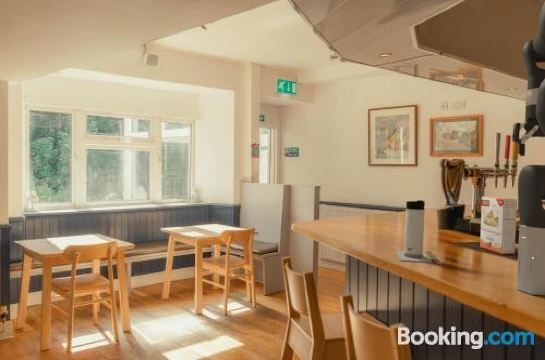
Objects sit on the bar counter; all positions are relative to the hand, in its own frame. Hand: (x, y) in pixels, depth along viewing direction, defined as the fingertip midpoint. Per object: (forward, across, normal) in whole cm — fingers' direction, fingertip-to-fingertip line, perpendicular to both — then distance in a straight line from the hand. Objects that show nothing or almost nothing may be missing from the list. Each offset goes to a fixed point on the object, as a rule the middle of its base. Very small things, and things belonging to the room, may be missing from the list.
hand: (537, 156), depth 142 cm
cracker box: (+36, 0, +35) cm, 50 cm away
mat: (+36, -34, +12) cm, 51 cm away
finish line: (+36, -28, +12) cm, 47 cm away
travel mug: (+36, -34, +12) cm, 51 cm away
